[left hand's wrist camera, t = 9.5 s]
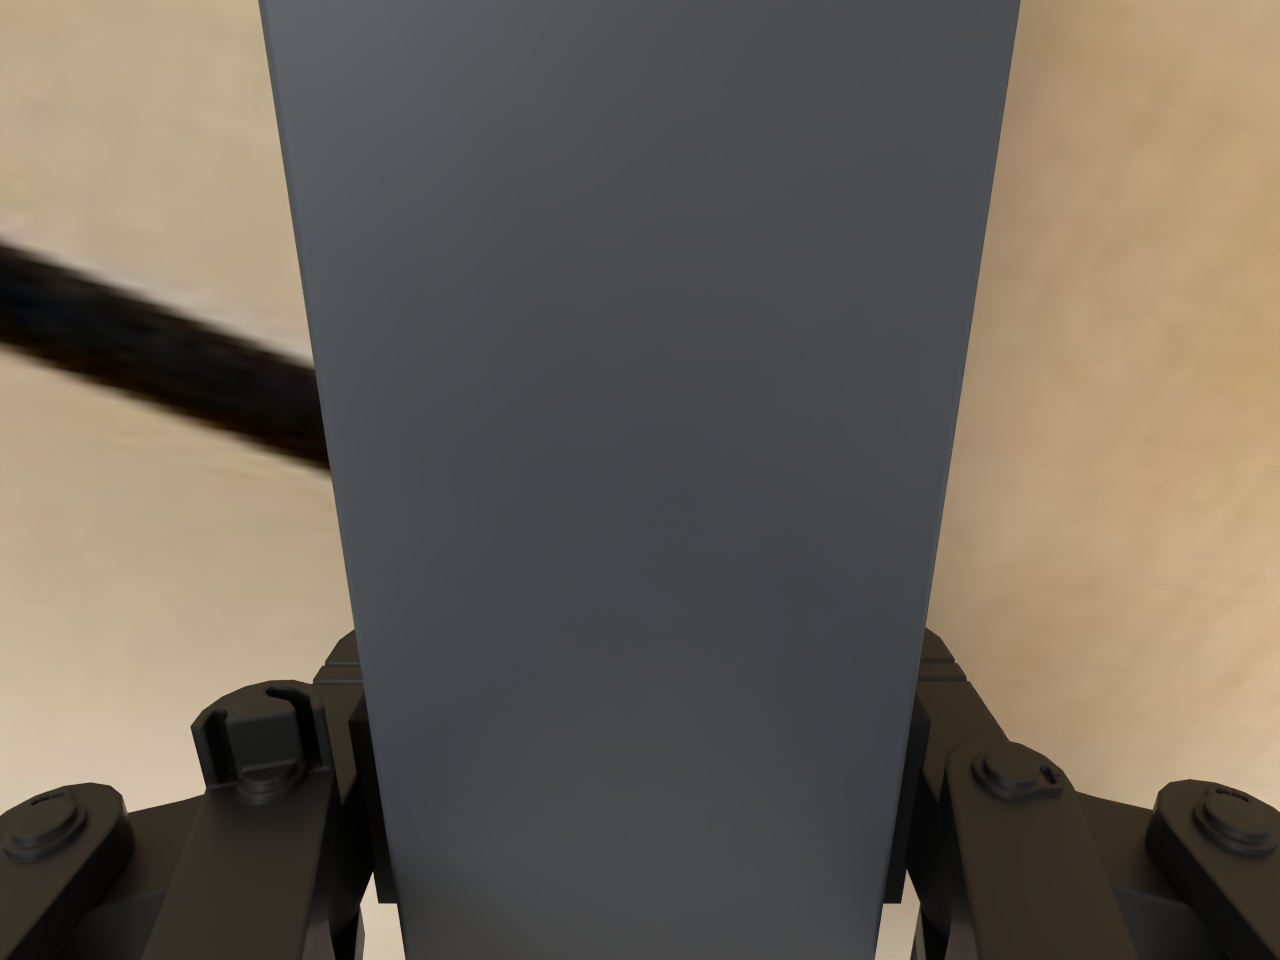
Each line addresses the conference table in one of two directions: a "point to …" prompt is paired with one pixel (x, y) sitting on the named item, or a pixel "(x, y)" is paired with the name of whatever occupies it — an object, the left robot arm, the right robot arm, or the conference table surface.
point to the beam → (639, 441)
